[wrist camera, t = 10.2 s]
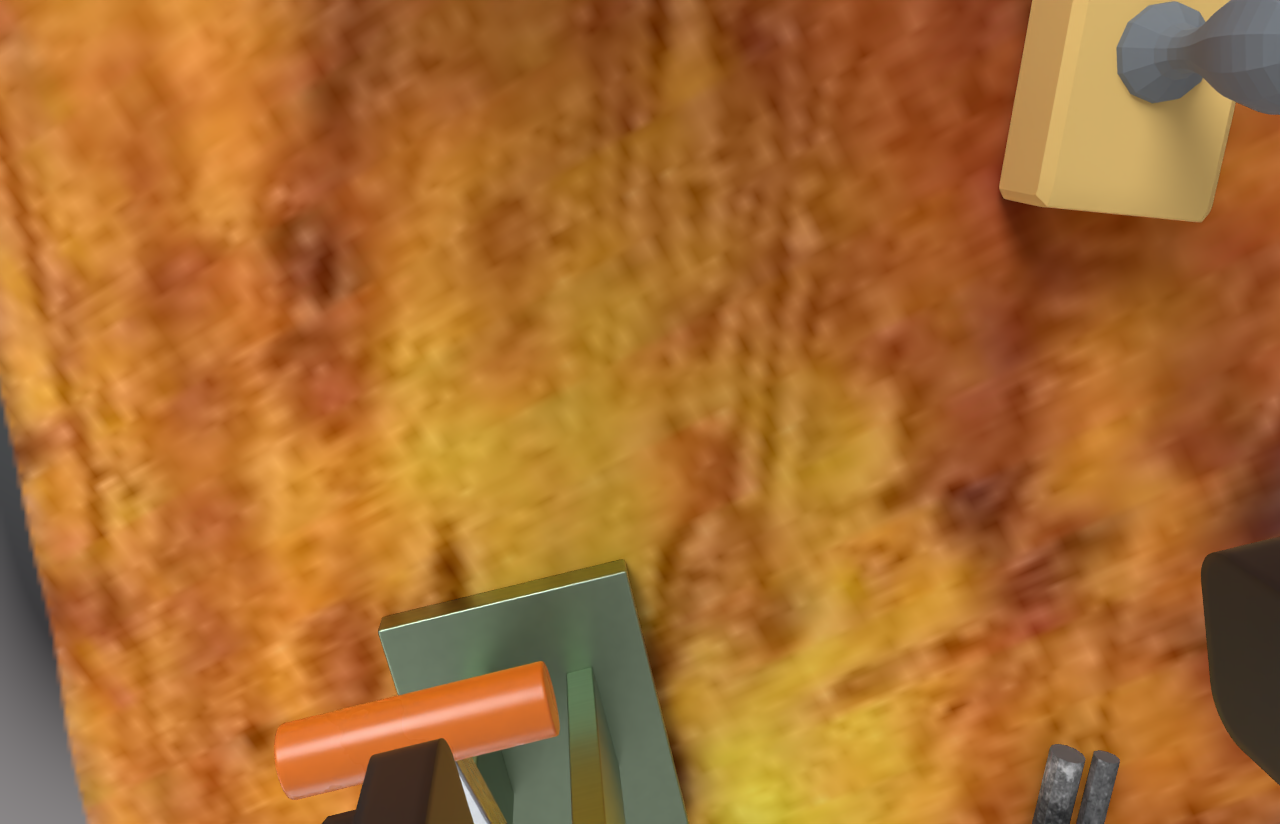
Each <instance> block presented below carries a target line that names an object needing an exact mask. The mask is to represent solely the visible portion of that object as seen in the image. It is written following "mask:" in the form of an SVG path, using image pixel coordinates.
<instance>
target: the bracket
mask: <svg viewBox="0 0 1280 824" xmlns="http://www.w3.org/2000/svg"><path fill="white" fill-rule="evenodd" d="M378 634H379V637H380V640H381V643H382V647H383V650H384V653H385V656H386V659H387V662H388V665H389V668H390V672H391V675H392V678H393V681H394V684H395V687H396V690H397V694H398V695H402V694H406V693H411V692H415V691H419V690H423V689H427V688H431V687H435V686H439V685H444V684H448V683H452V682H456V681H460V680H464V679H468V678H472V677H477V676H481V675H485V674H489V673H493V672H497V671H501V670H505V669H509V668H514V667H518V666H522V665H526V664H530V663H534V662H538V661H543V662H544V663H545V665H546V666H547V669H548V672H549V675H550V678H551V681H552V685H553V689H554V694H555V698H556V703H557V709H558V715H559V723H560V731H559V735H558V736H556V737H552V738H548V739H544V740H540V741H536V742H532V743H528V744H523V745H519V746H515V747H511V748H507V749H503V750H499V751H495V752H491V753H487V754H482V755H478V756H474V757H472V759H473V760H474V762H475V764H476V766H477V768H478V770H479V772H480V773H481V775H482V777H483V779H484V781H485V783H486V785H487V786H488V788H489V790H490V792H491V794H492V796H493V798H494V800H495V801H496V803H497V805H498V807H499V809H500V811H501V813H502V814H503V816H504V818H505V820H506V822H507V824H689V821H688V816H687V812H686V808H685V803H684V799H683V795H682V791H681V787H680V783H679V779H678V775H677V771H676V767H675V763H674V759H673V755H672V751H671V747H670V743H669V739H668V734H667V730H666V726H665V722H664V718H663V714H662V710H661V706H660V702H659V698H658V694H657V690H656V686H655V682H654V678H653V674H652V670H651V665H650V661H649V657H648V653H647V649H646V645H645V641H644V637H643V633H642V629H641V625H640V621H639V617H638V613H637V609H636V605H635V601H634V597H633V592H632V588H631V584H630V580H629V576H628V572H627V568H626V564H625V561H624V560H623V559H621V560H617V561H613V562H609V563H604V564H600V565H596V566H592V567H588V568H584V569H580V570H575V571H571V572H567V573H563V574H559V575H555V576H551V577H546V578H542V579H538V580H534V581H530V582H526V583H522V584H517V585H513V586H509V587H505V588H501V589H497V590H493V591H488V592H484V593H480V594H476V595H472V596H468V597H463V598H459V599H455V600H451V601H447V602H443V603H439V604H434V605H430V606H426V607H422V608H418V609H414V610H410V611H405V612H401V613H397V614H393V615H389V616H385V617H383V618H382V620H381V623H380V626H379V629H378Z"/></svg>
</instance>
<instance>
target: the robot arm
mask: <svg viewBox="0 0 1280 824" xmlns="http://www.w3.org/2000/svg"><path fill="white" fill-rule="evenodd" d="M1201 584H1202V595H1203V605H1204V616H1205V627H1206V638H1207V649H1208V660H1209V671H1210V682H1211V690H1212V695H1213V699H1214V702H1215V705H1216V708H1217V711H1218V714H1219V716H1220V718H1221V720H1222V722H1223V724H1224V726H1225V728H1226V730H1227V732H1228V733H1229V735H1230V736H1231V738H1232V739H1233V740H1234V742H1235V743H1236V744H1237V745H1238V746H1239V748H1240V749H1241V750H1242V751H1243V752H1245V753H1246V754H1247V755H1248V756H1249V757H1250V758H1251V759H1252V760H1253V761H1254V762H1255V763H1256V764H1257V765H1258V766H1260V767H1261V768H1262V769H1263V770H1264V771H1265V772H1266V773H1267V774H1268V775H1269V776H1270V777H1271V778H1272V779H1273V780H1275V781H1276V782H1277V783H1278V784H1279V785H1280V537H1275V538H1271V539H1267V540H1263V541H1259V542H1255V543H1251V544H1247V545H1243V546H1238V547H1234V548H1230V549H1226V550H1222V551H1218V552H1214V553H1211V554H1209V555H1207V556H1206V558H1205V559H1204V561H1203V564H1202V569H1201ZM322 824H474V821H473V818H472V815H471V812H470V808H469V805H468V802H467V799H466V795H465V792H464V789H463V786H462V782H461V779H460V776H459V773H458V769H457V766H456V763H455V760H454V757H453V754H452V752H451V749H450V747H449V745H448V743H447V742H446V740H445V739H443V738H440V739H436V740H432V741H428V742H423V743H419V744H415V745H411V746H407V747H403V748H399V749H395V750H390V751H386V752H382V753H378V754H374V755H372V756H371V758H370V760H369V763H368V766H367V770H366V774H365V778H364V782H363V785H362V789H361V793H360V797H359V801H358V804H357V808H356V810H353V811H348V812H344V813H340V814H336V815H332V816H328V817H327V818H326V819H325V821H324V822H323V823H322Z"/></svg>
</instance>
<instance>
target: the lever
mask: <svg viewBox="0 0 1280 824" xmlns="http://www.w3.org/2000/svg"><path fill="white" fill-rule="evenodd" d="M559 731H560V723H559V715H558V709H557V703H556V698H555V694H554V689H553V685H552V681H551V678H550V675H549V672H548V669H547V666H546V665H545V663H544V662H543V661H538V662H534V663H530V664H526V665H522V666H518V667H514V668H509V669H505V670H501V671H497V672H493V673H489V674H485V675H481V676H477V677H472V678H468V679H464V680H460V681H456V682H452V683H448V684H444V685H439V686H435V687H431V688H427V689H423V690H419V691H415V692H411V693H406V694H402V695H398V696H394V697H390V698H386V699H382V700H378V701H373V702H369V703H365V704H361V705H357V706H353V707H349V708H345V709H340V710H336V711H332V712H328V713H324V714H320V715H316V716H312V717H307V718H303V719H299V720H295V721H291V722H287V723H283V724H282V725H280V726H279V727H278V729H277V731H276V735H275V742H274V757H275V765H276V770H277V775H278V778H279V781H280V784H281V786H282V789H283V791H284V792H285V794H286V795H287V796H288V798H290V799H292V800H298V799H302V798H306V797H310V796H314V795H318V794H323V793H327V792H331V791H335V790H339V789H343V788H347V787H351V786H355V785H359V784H363V782H364V778H365V774H366V770H367V766H368V763H369V760H370V758H371V756H372V755H374V754H378V753H382V752H386V751H390V750H395V749H399V748H403V747H407V746H411V745H415V744H419V743H423V742H428V741H432V740H436V739H440V738H443V739H445V740H446V742H447V743H448V745H449V747H450V749H451V752H452V754H453V757H454V760H455V763H456V766H457V769H458V773H459V776H460V779H461V782H462V786H463V789H464V792H465V795H466V799H467V802H468V805H469V808H470V812H471V815H472V818H473V821H474V824H507V822H506V820H505V818H504V816H503V814H502V813H501V811H500V809H499V807H498V805H497V803H496V801H495V800H494V798H493V796H492V794H491V792H490V790H489V788H488V786H487V785H486V783H485V781H484V779H483V777H482V775H481V773H480V772H479V770H478V768H477V766H476V764H475V762H474V760H473V759H472V757H474V756H478V755H482V754H487V753H491V752H495V751H499V750H503V749H507V748H511V747H515V746H519V745H523V744H528V743H532V742H536V741H540V740H544V739H548V738H552V737H556V736H558V735H559Z"/></svg>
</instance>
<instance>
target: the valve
mask: <svg viewBox="0 0 1280 824" xmlns="http://www.w3.org/2000/svg"><path fill="white" fill-rule="evenodd" d="M1084 763H1085V757H1084V756H1083V754H1082V753H1080V752H1079V751H1077V750H1076V749H1074V748H1071V747H1069V746H1066V745H1061V744H1055V745H1052V746H1051V747H1050V750H1049V754H1048V758H1047V763H1046V767H1045V771H1044V775H1043V779H1042V784H1041V788H1040V792H1039V796H1038V800H1037V805H1036V809H1035V813H1034V817H1033V821H1032V824H1070V820H1071V816H1072V812H1073V808H1074V804H1075V800H1076V796H1077V792H1078V788H1079V784H1080V779H1081V775H1082V771H1083V767H1084ZM1119 763H1120V759H1119V758H1118V757H1116V756H1115V755H1113V754H1111V753H1109V752H1105V751H1100V750H1098V751H1094V753H1093V757H1092V761H1091V765H1090V769H1089V773H1088V777H1087V781H1086V785H1085V789H1084V793H1083V797H1082V802H1081V806H1080V810H1079V814H1078V818H1077V822H1076V824H1104V822H1105V818H1106V814H1107V810H1108V806H1109V802H1110V798H1111V794H1112V791H1113V787H1114V783H1115V779H1116V775H1117V771H1118V767H1119Z"/></svg>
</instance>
